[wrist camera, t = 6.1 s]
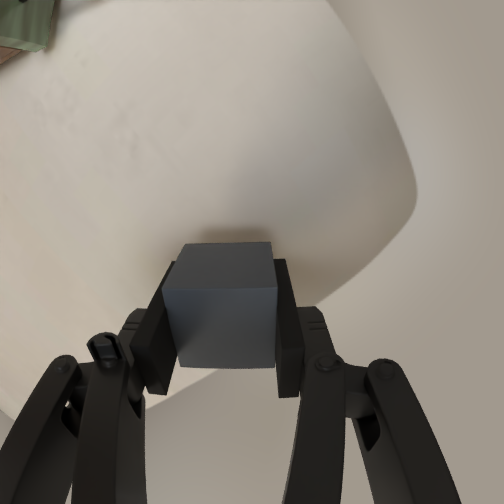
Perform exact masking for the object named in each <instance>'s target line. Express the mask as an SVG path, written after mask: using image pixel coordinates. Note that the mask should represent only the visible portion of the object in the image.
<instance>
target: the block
mask: <svg viewBox="0 0 504 504" xmlns="http://www.w3.org/2000/svg"><path fill="white" fill-rule="evenodd" d="M162 293H163V298H164V303H165V307H166V311H167V315H168V320H169V324H170V328H171V332H172V336H173V340H174V344H175V348H176V351H177V356H178V360H179V363H180V366H181V367H190V368H220V369H224V368H225V369H229V368H230V369H247V368H248V369H253V368H274V367H275V343H276V312H277V302H278V285H277V279H276V272H275V266H274V260H273V254H272V247H271V242H243V243H202V244H185V245H184V247H183V249H182V250H181V252H180V254H179V256H178V258H177V260H176V262H175V264H174V265H173V267H172V269H171V271H170V273H169V275H168V277H167V279H166V281H165V283H164V285H163V287H162Z"/></svg>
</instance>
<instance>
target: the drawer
mask: <svg viewBox="0 0 504 504" xmlns="http://www.w3.org/2000/svg"><path fill="white" fill-rule="evenodd" d="M54 2H55V0H0V64H2V63H3V62H5V61H6V60H8V59H9V58H11V57H12V56H14V55H16V54H17V53H19V52H21V51H22V50H27V51H32V52H37V51H39V50H41V49H43V48H45V47H47V44H48V36H49V29H50V23H51V17H52V12H53V7H54Z"/></svg>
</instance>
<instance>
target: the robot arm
mask: <svg viewBox="0 0 504 504" xmlns="http://www.w3.org/2000/svg"><path fill="white" fill-rule="evenodd" d="M273 260H274V266H275V272H276V279H277V285H278V302H277V312H276V343H275V361H276V372H277V383H278V395H279V398H289V397H298V396H299V390H300V397H301V400H300V406H299V411H298V419H297V426H296V432H295V438H294V444H293V450H292V455H291V461H290V466H289V471H288V477H287V481H286V486H285V491H284V495H283V500H282V504H340V501H341V492H342V480H343V467H344V466H343V465H344V449H345V417H348V418H351V419H352V422H353V426H354V429H355V432H356V436H357V439H358V443H359V446H360V450H361V454H362V457H363V461H364V465H365V469H366V472H367V476H368V480H369V484H370V488H371V492H372V496H373V500H374V504H461V501H460V498H459V495H458V492H457V490H456V487H455V484H454V481H453V479H452V476H451V474H450V471H449V469H448V466H447V464H446V461H445V459H444V456H443V454H442V452H441V449H440V447H439V445H438V442H437V440H436V438H435V436H434V433H433V431H432V429H431V427H430V424H429V422H428V420H427V418H426V416H425V414H424V412H423V410H422V408H421V405H420V403H419V401H418V399H417V397H416V395H415V393H414V391H413V389H412V387H411V385H410V383H409V381H408V379H407V378H406V376H405V374H404V372H403V370H402V368H401V367H400V366H399V364H397V363H396V362H394V361H393V360H389V359H377V360H374V361H373V362H371V363H370V364H369V366H368V367H361V366H354V365H350V364H347V363H345V362H344V361H343V359H342V358H341V357H340V356H339V355H337V354H336V352H335V349H334V346H333V343H332V340H331V338H330V334H329V331H328V329H327V325H326V323H325V319H324V316H323V314H322V312H321V311H320V310H319V309H317V307H316V306H312V307H296V302H295V298H294V294H293V289H292V285H291V281H290V277H289V273H288V268H287V264H286V260H285V259H273ZM175 262H176V261H172V263H171V264H170V266H169V268H168V270H167V272H166V274H165V275H164V277H163V279H162V281H161V283H160V285H159V287H158V288H157V290H156V292H155V294H154V296H153V298H152V300H151V302H150V304H149V306H148V308H147V309H142V308H137V309H136V310H134V311H133V312H132V313H131V314H130V315H129V316H128V318H127V320H126V321H125V324H124V325H123V327H122V330H120V332H119V334H118V336H117V335H115V334H113V333H109V332H104V333H99V334H97V335H95V336H93V337H92V338H91V339H90V340H89V341H88V343H87V344H86V345H87V347H88V349H89V351H90V353H91V355H92V357H93V359H94V362H88V363H79V364H78V363H77V361H76V359H75V358H74V357H73V356H71V355H62V356H59V357H57V358H56V359H54V360H53V361H52V362H51V364H50V365H49V367H48V368H47V370H46V371H45V373H44V374H43V376H42V377H41V379H40V381H39V382H38V384H37V385H36V387H35V388H34V390H33V392H32V393H31V395H30V397H29V398H28V400H27V402H26V403H25V405H24V407H23V409H22V410H21V412H20V414H19V416H18V417H17V419H16V421H15V423H14V425H13V426H12V428H11V430H10V432H9V434H8V436H7V438H6V440H5V442H4V444H3V446H2V448H1V450H0V504H65V502H66V499H67V496H68V493H69V490H70V487H71V484H72V498H71V504H147V494H146V476H145V398H144V395H143V390H144V387H145V386H146V388H147V390H148V393H149V394H157V395H167V392H168V388H169V384H170V380H171V377H172V373H173V369H174V366H175V362H176V358H177V351H176V348H175V344H174V340H173V336H172V332H171V328H170V324H169V320H168V315H167V311H166V307H165V303H164V298H163V293H162V287H163V285H164V283H165V281H166V279H167V277H168V275H169V273H170V271H171V269H172V267H173V265H174V264H175ZM67 401H69V405H68V406H67V407H65V405H66V403H67ZM72 481H73V482H72Z"/></svg>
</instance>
